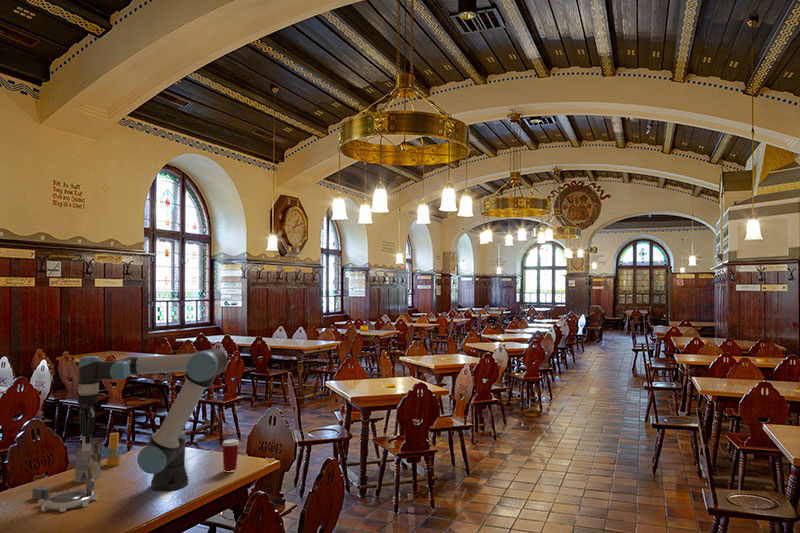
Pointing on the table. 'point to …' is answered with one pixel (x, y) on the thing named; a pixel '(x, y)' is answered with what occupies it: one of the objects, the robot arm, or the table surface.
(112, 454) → the yellow and blue toy
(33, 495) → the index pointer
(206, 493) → the table surface
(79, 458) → the coffee box
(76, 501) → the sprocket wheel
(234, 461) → the paper cup
